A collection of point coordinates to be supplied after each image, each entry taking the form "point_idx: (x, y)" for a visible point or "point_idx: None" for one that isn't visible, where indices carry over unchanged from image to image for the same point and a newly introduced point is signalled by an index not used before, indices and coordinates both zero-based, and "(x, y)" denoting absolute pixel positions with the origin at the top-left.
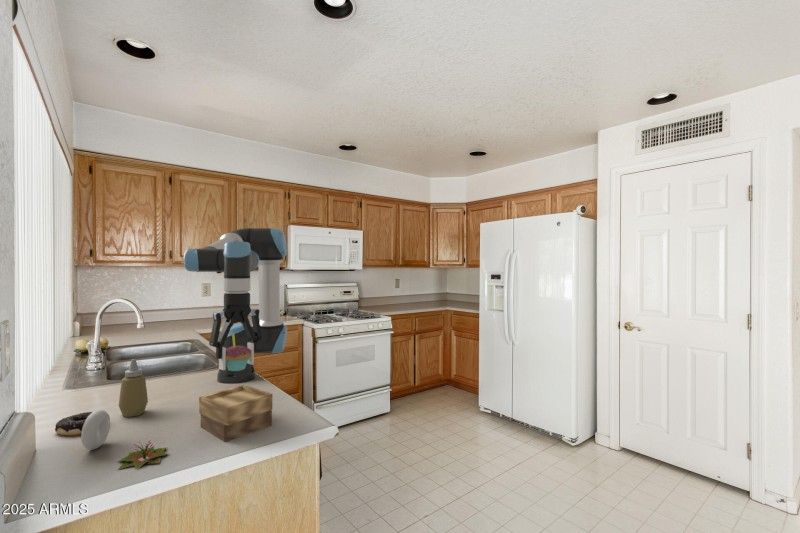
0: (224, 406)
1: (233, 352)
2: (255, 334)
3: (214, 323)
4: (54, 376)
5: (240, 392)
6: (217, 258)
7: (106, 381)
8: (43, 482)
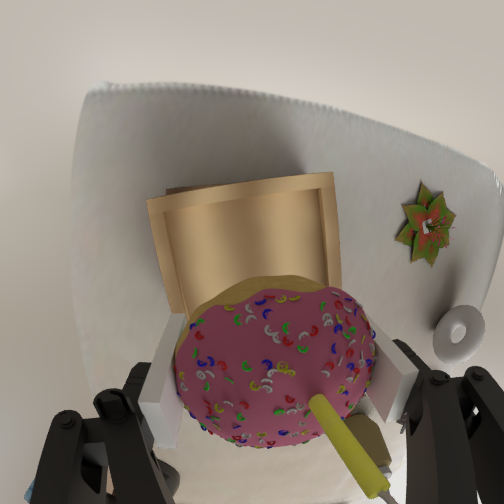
0: (334, 191)
1: (350, 331)
2: (97, 479)
3: None
4: None
5: None
6: None
7: None
8: (493, 250)
